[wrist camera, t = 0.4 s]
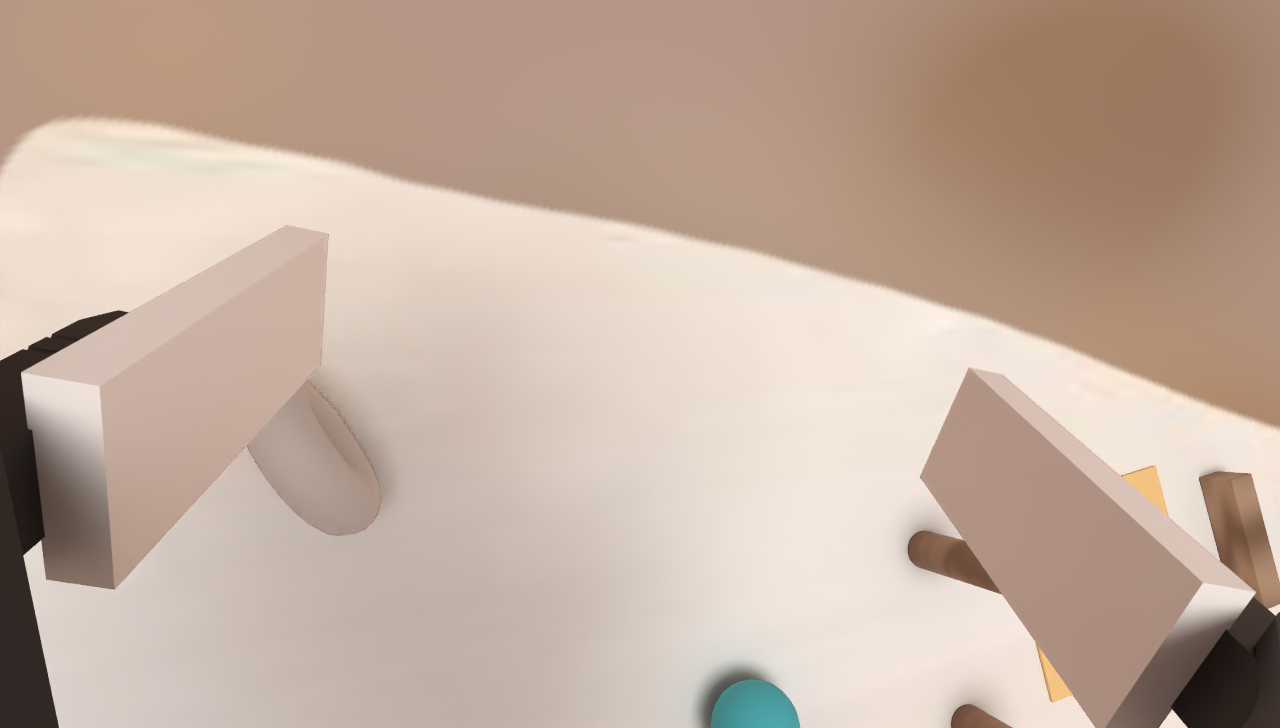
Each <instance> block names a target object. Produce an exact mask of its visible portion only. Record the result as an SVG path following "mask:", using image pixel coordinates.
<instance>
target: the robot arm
mask: <svg viewBox="0 0 1280 728" xmlns="http://www.w3.org/2000/svg"><path fill="white" fill-rule="evenodd" d="M328 236H329V234H326V233H322V232H317V231H312V230H307V229H302V228H298V227H293V226H288V225H286V226H284V227H283V228H281V229H279V230H277V231H275V232H274V233H272V234H270V235H268V236H266V237H265V238H263V239H261V240H259V241H257V242H256V243H254V244H252V245H250V246H248V247H247V248H245V249H243V250H241V251H239V252H237V253H236V254H234V255H232V256H230V257H228V258H227V259H225V260H223V261H221V262H219V263H218V264H216V265H214V266H212V267H210V268H209V269H207V270H205V271H203V272H201V273H200V274H198V275H196V276H194V277H192V278H191V279H189V280H187V281H185V282H183V283H182V284H180V285H178V286H176V287H174V288H172V289H171V290H169V291H167V292H165V293H163V294H162V295H160V296H158V297H156V298H154V299H153V300H151V301H149V302H147V303H145V304H144V305H142V306H140V307H138V308H136V309H135V310H133V311H131V312H124V311H114V312H110V313H106V314H102V315H97V316H93V317H89V318H85V319H81V320H78V321H76V322H74V323H73V324H71V325H69V326H67V327H65V328H63V329H61V330H59V331H57V332H55V333H53V334H52V336H51V338H49V337H45V338H43V339H42V340H40V341H38V342H36V343H34V344H32V345H30V346H29V347H28V350H24V349H22V350H20V351H18V352H16V353H14V354H12V355H11V356H9V357H7V358H5V359H3V360H1V361H0V728H59V726H58V721H57V716H56V712H55V707H54V702H53V697H52V692H51V687H50V683H49V678H48V673H47V668H46V663H45V659H44V654H43V649H42V644H41V639H40V635H39V630H38V625H37V620H36V615H35V610H34V606H33V601H32V596H31V591H30V586H29V582H28V577H27V572H26V567H25V562H24V558H23V555H24V554H25V553H26V552H28V551H29V550H30V549H31V548H32V547H33V546H35V545H36V544H37V543H38V542H39V541H40V540H41V541H42V549H43V557H44V566H45V574H46V579H47V580H54V581H60V582H67V583H74V584H81V585H88V586H94V587H101V588H108V589H116V588H117V586H118V585H119V584H120V583H121V582H122V581H123V580H124V579H125V578H126V577H127V576H128V574H129V573H130V572H131V571H132V570H133V569H134V568H135V567H136V566H137V565H138V564H139V562H140V561H141V560H142V559H143V558H144V557H145V556H146V555H147V554H148V553H149V552H150V550H151V549H152V548H153V547H154V546H155V545H156V544H157V543H158V542H159V541H160V540H161V538H162V537H163V536H164V535H165V534H166V533H167V532H168V531H169V530H170V529H171V528H172V526H173V525H174V524H175V523H176V522H177V521H178V520H179V519H180V518H181V517H182V516H183V514H184V513H185V512H186V511H187V510H188V509H189V508H190V507H191V506H192V505H193V504H194V502H195V501H196V500H197V499H198V498H199V497H200V496H201V495H202V494H203V493H204V492H205V490H206V489H207V488H208V487H209V486H210V485H211V484H212V483H213V482H214V481H215V480H216V478H217V477H218V476H219V475H220V474H221V473H222V472H223V471H224V470H225V469H226V468H227V466H228V465H229V464H230V463H231V462H232V461H233V460H234V459H235V458H236V457H237V456H238V454H239V453H240V452H241V451H242V450H243V449H244V448H245V447H246V446H247V445H248V444H249V442H250V441H251V440H252V439H253V438H254V437H255V436H256V435H257V434H258V433H259V432H260V430H261V429H262V428H263V427H264V426H265V425H266V424H267V423H268V422H269V421H270V420H271V418H272V417H273V416H274V415H275V414H276V413H277V412H278V411H279V410H280V409H281V408H282V406H283V405H284V404H285V403H286V402H287V401H288V400H289V399H290V398H291V397H292V396H293V394H294V393H295V392H296V391H297V390H298V389H299V388H300V387H301V386H302V385H303V384H304V382H305V381H306V380H307V379H308V378H309V377H310V376H311V375H312V374H313V373H314V372H315V370H316V369H317V368H318V367H319V366H320V365H321V354H322V337H323V320H324V303H325V286H326V270H327V253H328ZM920 478H921V479H922V481H923V482H924V484H925V485H926V486H927V488H928V489H929V491H930V492H931V494H932V495H933V496H934V498H935V499H936V501H937V502H938V503H939V505H940V506H941V508H942V509H943V511H944V512H945V513H946V515H947V516H948V518H949V519H950V521H951V522H952V523H953V525H954V526H955V528H956V529H957V531H958V532H959V533H960V535H961V536H962V538H963V539H964V541H965V542H966V543H967V545H968V546H969V548H970V549H971V551H972V552H973V553H974V555H975V556H976V558H977V559H978V561H979V562H980V563H981V565H982V566H983V568H984V569H985V571H986V572H987V573H988V575H989V576H990V578H991V579H992V581H993V582H994V583H995V585H996V586H997V588H998V589H999V590H1000V592H1001V593H1002V595H1003V596H1004V598H1005V599H1006V600H1007V602H1008V603H1009V605H1010V606H1011V608H1012V609H1013V610H1014V612H1015V613H1016V615H1017V616H1018V618H1019V619H1020V620H1021V622H1022V623H1023V625H1024V626H1025V628H1026V629H1027V630H1028V632H1029V633H1030V635H1031V636H1032V638H1033V639H1034V640H1035V642H1036V643H1037V645H1038V646H1039V648H1040V649H1041V650H1042V652H1043V653H1044V655H1045V656H1046V658H1047V659H1048V660H1049V662H1050V663H1051V665H1052V666H1053V667H1054V669H1055V670H1056V672H1057V673H1058V675H1059V676H1060V677H1061V679H1062V680H1063V682H1064V683H1065V685H1066V686H1067V687H1068V689H1069V690H1070V692H1071V693H1072V695H1073V696H1074V697H1075V699H1076V700H1077V702H1078V703H1079V705H1080V706H1081V707H1082V709H1083V710H1084V712H1085V713H1086V715H1087V716H1088V717H1089V719H1090V720H1091V722H1092V723H1093V725H1094V726H1095V727H1096V728H1159V727H1160V725H1161V724H1162V722H1163V721H1164V720H1165V718H1166V717H1167V715H1168V714H1169V713H1170V711H1171V710H1172V709H1173V711H1174V712H1175V713H1176V714H1177V715H1178V717H1179V718H1180V719H1181V720H1182V721H1183V723H1184V724H1185V725H1186V726H1187V727H1188V728H1280V612H1279V613H1278V614H1277V615H1276V616H1275V615H1274V614H1273V613H1272V612H1270V611H1269V610H1268V609H1267V608H1266V607H1265V606H1263V605H1262V604H1261V603H1260V602H1259V601H1258V600H1257V599H1255V598H1254V597H1253V596H1254V594H1255V593H1256V592H1255V591H1254V590H1253V589H1252V588H1251V587H1250V586H1248V585H1247V584H1246V583H1245V582H1244V581H1243V580H1241V579H1240V578H1239V577H1238V576H1237V575H1236V574H1234V573H1233V572H1232V571H1231V570H1230V569H1229V568H1227V567H1226V566H1225V565H1224V564H1223V563H1222V562H1220V561H1219V560H1218V559H1217V558H1216V557H1215V556H1213V555H1212V554H1211V553H1210V552H1209V551H1208V550H1206V549H1205V548H1204V547H1203V546H1202V545H1201V544H1199V543H1198V542H1197V541H1196V540H1195V539H1194V538H1192V537H1191V536H1190V535H1189V534H1188V533H1187V532H1185V531H1184V530H1183V529H1182V528H1181V527H1180V526H1178V525H1177V524H1176V523H1175V522H1174V521H1173V520H1171V519H1170V518H1169V517H1168V516H1167V515H1166V514H1164V513H1163V512H1162V511H1161V510H1160V509H1159V508H1157V507H1156V506H1155V505H1154V504H1153V503H1152V502H1150V501H1149V500H1148V499H1147V498H1146V497H1145V496H1143V495H1142V494H1141V493H1140V492H1139V491H1138V490H1136V489H1135V488H1134V487H1133V486H1132V485H1131V484H1129V483H1128V482H1127V481H1126V480H1125V479H1124V478H1122V477H1121V476H1120V475H1119V474H1118V473H1117V472H1115V471H1114V470H1113V469H1112V468H1111V467H1110V466H1108V465H1107V464H1106V463H1105V462H1104V461H1103V460H1101V459H1100V458H1099V457H1098V456H1097V455H1096V454H1094V453H1093V452H1092V451H1091V450H1090V449H1089V448H1087V447H1086V446H1085V445H1084V444H1083V443H1082V442H1080V441H1079V440H1078V439H1077V438H1076V437H1075V436H1073V435H1072V434H1071V433H1070V432H1069V431H1068V430H1066V429H1065V428H1064V427H1063V426H1062V425H1061V424H1059V423H1058V422H1057V421H1056V420H1055V419H1054V418H1052V417H1051V416H1050V415H1049V414H1048V413H1047V412H1045V411H1044V410H1043V409H1042V408H1041V407H1040V406H1038V405H1037V404H1036V403H1035V402H1034V401H1033V400H1031V399H1030V398H1029V397H1028V396H1027V395H1026V394H1024V393H1023V392H1022V391H1021V390H1020V389H1019V388H1017V387H1016V386H1015V385H1014V384H1013V383H1012V382H1010V381H1009V380H1008V379H1007V378H1006V377H1005V376H1003V375H1002V374H997V373H993V372H988V371H983V370H978V369H973V368H969V369H968V371H967V373H966V375H965V377H964V380H963V382H962V384H961V386H960V389H959V391H958V393H957V395H956V397H955V400H954V402H953V404H952V406H951V409H950V411H949V413H948V415H947V418H946V420H945V422H944V424H943V426H942V429H941V431H940V433H939V435H938V438H937V440H936V442H935V444H934V446H933V449H932V451H931V453H930V455H929V458H928V460H927V462H926V464H925V467H924V469H923V471H922V473H921V475H920Z"/></svg>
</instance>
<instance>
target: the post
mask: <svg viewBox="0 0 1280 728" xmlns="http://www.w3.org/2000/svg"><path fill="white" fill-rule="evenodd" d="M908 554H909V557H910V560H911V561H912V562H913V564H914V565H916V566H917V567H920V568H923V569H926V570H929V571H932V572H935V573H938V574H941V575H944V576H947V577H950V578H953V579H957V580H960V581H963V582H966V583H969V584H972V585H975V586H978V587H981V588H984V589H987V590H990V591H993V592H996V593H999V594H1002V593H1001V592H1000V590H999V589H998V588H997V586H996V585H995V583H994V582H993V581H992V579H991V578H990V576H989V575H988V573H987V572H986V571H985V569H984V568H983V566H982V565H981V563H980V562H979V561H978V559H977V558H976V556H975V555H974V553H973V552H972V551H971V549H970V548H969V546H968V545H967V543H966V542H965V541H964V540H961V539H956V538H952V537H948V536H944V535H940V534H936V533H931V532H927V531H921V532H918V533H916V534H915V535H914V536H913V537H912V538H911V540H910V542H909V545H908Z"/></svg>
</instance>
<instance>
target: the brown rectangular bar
mask: <svg viewBox="0 0 1280 728" xmlns="http://www.w3.org/2000/svg"><path fill="white" fill-rule="evenodd" d="M1199 479H1200V483H1201V486H1202V490H1203V494H1204V498H1205V502H1206V506H1207V509H1208V513H1209V517H1210V521H1211V525H1212V529H1213V532H1214V536H1215V540H1216V544H1217V548H1218V552H1219V555H1220V559H1221V562H1222V563H1223V564H1224V565H1225V566H1226V567H1227V568H1229V569H1230V570H1231V571H1232V572H1233V573H1234V574H1236V575H1237V576H1238V577H1239V578H1240V579H1241V580H1243V581H1244V582H1245V583H1246V584H1247V585H1248V586H1250V587H1251V588H1252V589H1253V590H1254V591H1255V592H1256V593H1255V594H1254V596H1253V597H1254V598H1255V599H1257V600H1258V601H1259V602H1260V603H1261V604H1262V605H1263V606H1265V607H1266V608H1267V609H1268V608H1271V607H1273V606H1276V605H1278V604H1280V582H1279V578H1278V574H1277V570H1276V567H1275V563H1274V559H1273V555H1272V551H1271V548H1270V544H1269V540H1268V536H1267V532H1266V529H1265V525H1264V521H1263V517H1262V513H1261V510H1260V506H1259V502H1258V498H1257V494H1256V491H1255V487H1254V483H1253V479H1252V475H1251V474H1248V473H1233V472H1216V473H1213V474H1210V475H1207V476H1204V477H1201V478H1199Z"/></svg>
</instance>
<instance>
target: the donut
mask: <svg viewBox="0 0 1280 728" xmlns="http://www.w3.org/2000/svg"><path fill="white" fill-rule="evenodd" d="M247 447H248V449H249V452H250V454H251V455H252V457H253V459H254V460H255V462H256V464H257V465H258V467H259V468H260V470H261V472H262V473H263V475H264V476H265V478H266V479H267V480H268V482H269V483H270V484H271V485H272V487H273V488H274V489H275V491H276V492H277V493H278V495H279V496H280V497H281V498H282V499H283V500H284V501H285V502H286V503H287V505H288V506H289V507H290V508H291V509H292V510H293V511H294V512H295V513H296V514H297V515H299V516H300V517H301V518H302V519H303V520H305V521H306V522H307V523H308V524H310V525H311V526H313V527H315V528H317V529H319V530H321V531H322V532H324V533H326V534H330V535H335V536H341V535H349V534H356V533H358V532H360V531H362V530H364V529H366V528H367V527H368V526H369V525H370V524H371V523H372V522H373V521H374V519H375V518H376V516H377V514H378V511H379V507H380V502H381V491H380V486H379V482H378V479H377V477H376V475H375V472H374V470H373V468H372V466H371V464H370V462H369V460H368V459H367V457H366V455H365V453H364V451H363V450H362V448H361V447H360V445H359V443H358V442H357V440H356V439H355V437H354V436H353V434H352V433H351V431H350V430H349V428H348V427H347V426H346V424H345V423H344V421H343V420H342V419H341V417H340V416H339V415H338V413H337V412H336V411H335V410H334V408H333V407H332V406H331V405H330V403H329V402H328V401H327V400H326V399H325V398H324V397H323V396H322V395H321V393H320V392H319V391H318V390H317V389H316V388H315V387H314V386H312V385H311V384H310V383H309V382H308V381H307V380H306V381H305V382H304V384H303V385H302V386H301V387H300V388H299V389H298V390H297V391H296V392H295V393H294V394H293V396H292V397H291V398H290V399H289V400H288V401H287V402H286V403H285V404H284V405H283V406H282V408H281V409H280V410H279V411H278V412H277V413H276V414H275V415H274V416H273V417H272V418H271V420H270V421H269V422H268V423H267V424H266V425H265V426H264V427H263V428H262V429H261V430H260V432H259V433H258V434H257V435H256V436H255V437H254V438H253V439H252V440H251V441H250V442H249V444H248V445H247Z"/></svg>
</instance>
